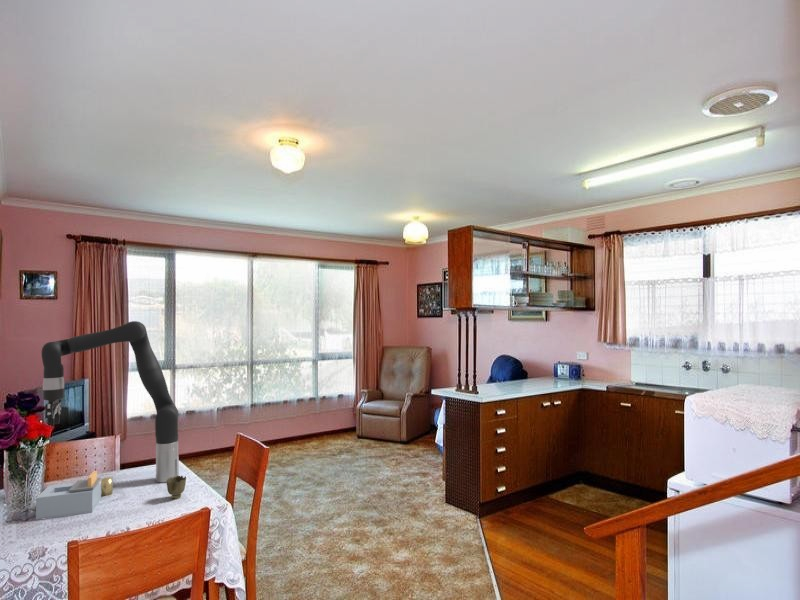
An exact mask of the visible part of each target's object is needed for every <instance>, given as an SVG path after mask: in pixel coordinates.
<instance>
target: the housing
mask: <svg viewBox="0 0 800 600" xmlns="http://www.w3.org/2000/svg"><path fill="white" fill-rule="evenodd" d="M101 480H102V479H100V481H99V482H98V484H97V485H96V486H95V488H94V489H93V490H85V491H77V492H69V489H70V488H71V487H72V486H73V485H74V484H75V483H76V482H71V483H70V482H69V483H61V484H53V485H48V486H47V487H46V488H45V489H44V490H43V491H42V492H41V493H40V494H39V495H38V496H37V497H36V498H35V501H36V502H35V520H36V521H37V520H38V519H39V520H44V519H43V518H46V519H54V518H60V517H66V516H67V517H68V516H74V515H83V514H90V513H94V510H95V509H96V507H97V506H98V505H99V503H100V501H101V500H102V496H101Z"/></svg>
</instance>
